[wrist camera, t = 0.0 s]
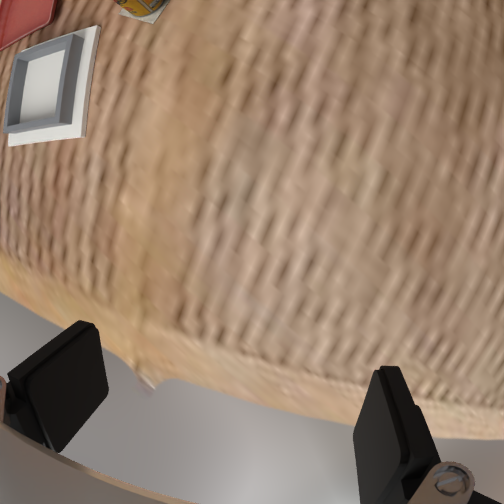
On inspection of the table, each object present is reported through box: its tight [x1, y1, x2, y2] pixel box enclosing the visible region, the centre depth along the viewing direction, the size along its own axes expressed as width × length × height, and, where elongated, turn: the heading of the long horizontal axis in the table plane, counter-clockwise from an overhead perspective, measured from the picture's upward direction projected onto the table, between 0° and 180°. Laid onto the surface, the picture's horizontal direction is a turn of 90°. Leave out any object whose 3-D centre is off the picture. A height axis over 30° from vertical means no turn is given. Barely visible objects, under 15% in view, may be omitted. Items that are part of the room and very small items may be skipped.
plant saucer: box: [0, 0, 57, 51], centre depth 35 cm, size 18×18×3 cm
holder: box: [3, 25, 101, 146], centre depth 37 cm, size 18×18×4 cm
